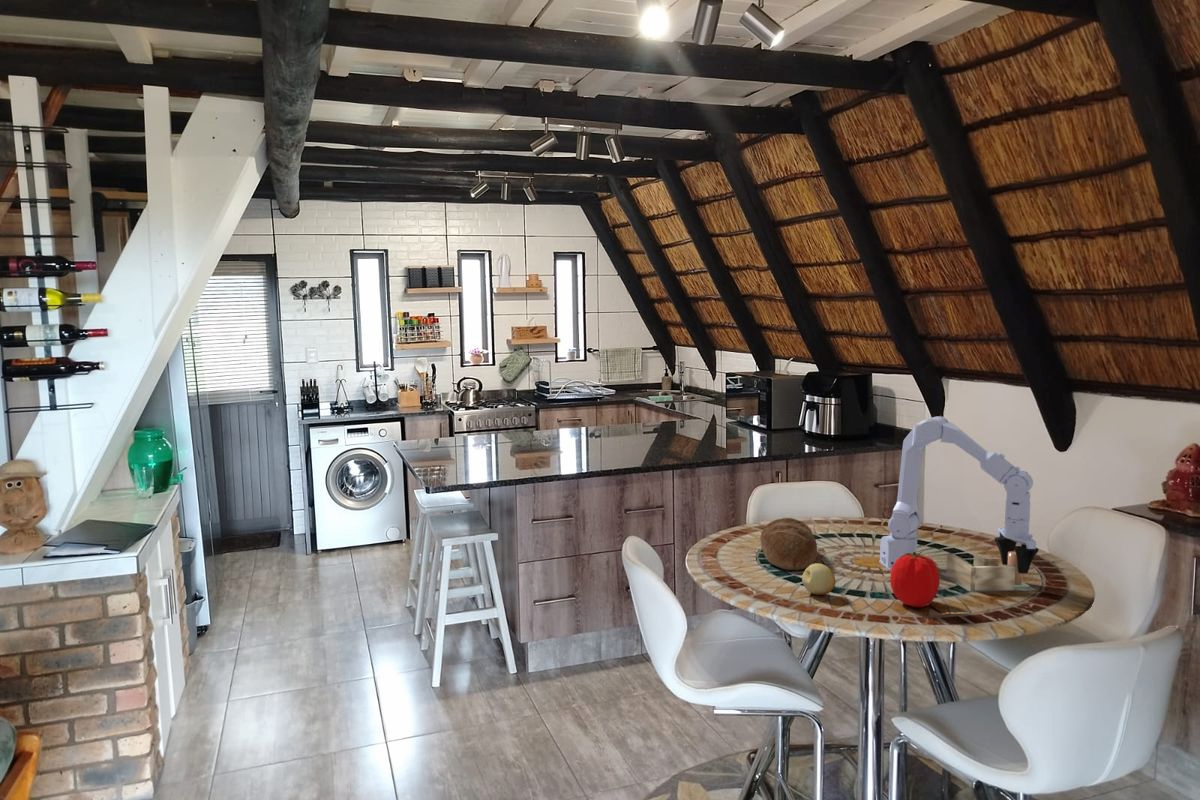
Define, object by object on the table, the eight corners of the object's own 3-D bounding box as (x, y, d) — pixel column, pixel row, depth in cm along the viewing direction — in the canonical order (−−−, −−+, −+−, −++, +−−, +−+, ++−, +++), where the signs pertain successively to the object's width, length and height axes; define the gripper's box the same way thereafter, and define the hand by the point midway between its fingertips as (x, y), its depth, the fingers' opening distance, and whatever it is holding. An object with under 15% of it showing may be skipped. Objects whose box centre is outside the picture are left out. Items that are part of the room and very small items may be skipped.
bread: (807, 545, 257) (808, 510, 256) (822, 573, 228) (823, 533, 227) (757, 544, 259) (757, 508, 258) (765, 571, 230) (766, 531, 229)
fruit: (803, 588, 215) (804, 558, 214) (836, 592, 212) (837, 561, 211) (799, 597, 208) (800, 566, 207) (833, 601, 205) (834, 569, 204)
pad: (1010, 587, 214) (1010, 586, 214) (1000, 581, 219) (1000, 580, 219) (1029, 587, 214) (1029, 585, 214) (1018, 581, 219) (1018, 579, 219)
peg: (1011, 585, 215) (1012, 555, 214) (1004, 580, 218) (1005, 551, 218) (1024, 584, 215) (1025, 554, 214) (1017, 580, 219) (1018, 551, 218)
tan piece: (970, 590, 212) (971, 567, 211) (946, 575, 224) (947, 553, 224) (1014, 589, 212) (1015, 567, 212) (987, 574, 225) (988, 553, 225)
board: (968, 593, 211) (969, 591, 211) (939, 574, 227) (939, 572, 227) (1036, 592, 212) (1036, 590, 212) (1002, 573, 228) (1002, 571, 228)
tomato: (901, 614, 196) (903, 559, 194) (881, 597, 208) (882, 545, 207) (949, 613, 196) (951, 559, 195) (926, 596, 208) (928, 545, 207)
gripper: (1048, 524, 208) (1046, 576, 209) (1016, 511, 223) (1014, 560, 224) (1021, 524, 208) (1019, 577, 209) (991, 511, 222) (988, 561, 223)
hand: (1014, 568), depth 216 cm, fingers open, 7 cm apart
